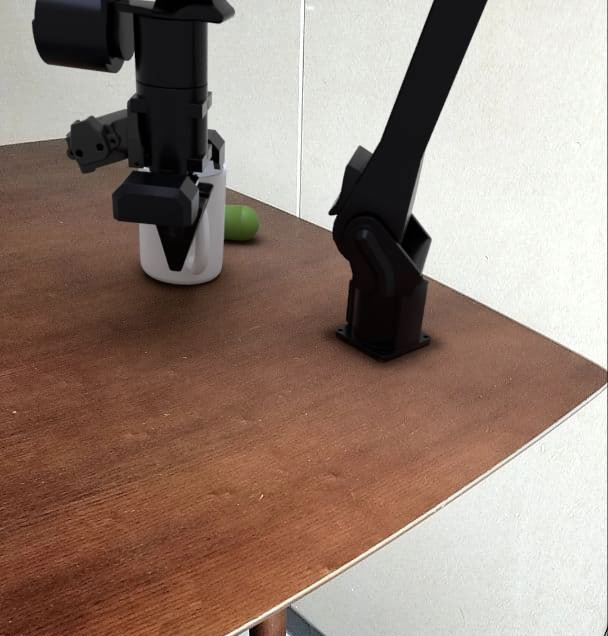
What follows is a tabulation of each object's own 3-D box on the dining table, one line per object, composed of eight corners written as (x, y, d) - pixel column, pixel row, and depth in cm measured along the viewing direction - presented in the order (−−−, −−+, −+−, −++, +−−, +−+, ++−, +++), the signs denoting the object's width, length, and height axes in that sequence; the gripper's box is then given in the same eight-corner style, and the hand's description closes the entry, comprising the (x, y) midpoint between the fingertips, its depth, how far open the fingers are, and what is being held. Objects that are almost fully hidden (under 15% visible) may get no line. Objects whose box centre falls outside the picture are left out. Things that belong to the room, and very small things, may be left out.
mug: (243, 300, 84) (249, 190, 77) (158, 304, 81) (157, 191, 75) (210, 253, 92) (213, 150, 86) (132, 255, 89) (130, 150, 83)
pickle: (260, 234, 97) (261, 202, 95) (257, 247, 94) (257, 213, 92) (175, 228, 97) (174, 195, 95) (169, 240, 94) (167, 206, 92)
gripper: (101, 49, 76) (113, 226, 86) (34, 97, 62) (57, 303, 72) (227, 62, 76) (224, 237, 86) (189, 112, 62) (191, 317, 72)
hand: (175, 270), depth 79 cm, fingers closed
